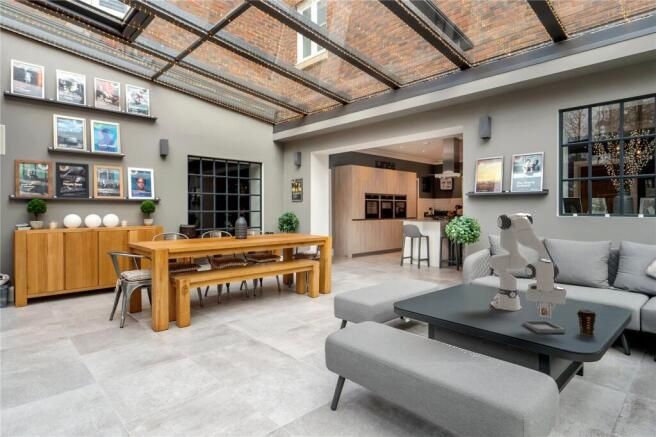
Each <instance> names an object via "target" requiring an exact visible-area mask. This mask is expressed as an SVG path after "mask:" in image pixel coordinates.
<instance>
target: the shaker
mask: <svg viewBox="0 0 656 437" xmlns="http://www.w3.org/2000/svg"><path fill="white" fill-rule="evenodd" d="M539 306H540V310H539V316H540V318H542V317H544V318H550V319H552V311H551V307H552V303H543V302H539ZM542 309H545V310H546V311H547V313H546V314H542V313H541V310H542Z"/></svg>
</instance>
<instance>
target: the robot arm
mask: <svg viewBox="0 0 656 437" xmlns="http://www.w3.org/2000/svg"><path fill="white" fill-rule="evenodd" d="M533 220H534V219H533V216H532V215H531V214H530V213H525V212H524V213H517V212H515V213H509V214H507V213H506V214H501V215H499V216H498V217H497V221H496V222H497V227H498V229H500V236H499V237H500V238H499V241H500V242H499V244H500V245H499V246H500V248H501V250H504V251H506V252H508V253H509V254H492V255H491V256H490V257H489V258H488V265H489V267H490V268H492V270H494V271H495V272H496V273H497V276H498V280H499V288H498V293H497V294H496V295H494V297H493V298H492V300H493V301H491V302H490V305H491V306H493V308H495V309H497V310H498V309H499V310H504V311H520V310H521V309H522V308H523V307H522V306H521V303H520V302H521V301H520V300H521V299H520V297H519V295H518V292H519V291H518V290H519V289H518V279H517V277H515V275H512V274H510V273H509V271H522V270H523V271H524V270H525V274H526V277H528V278H529V279H533V280H536V282H535V283H530V284H528V285H527V289H526V293H525V301H526V302H534V305H536V308H537V309H536V310H539V311H540V305H538V304H539V303H540V302H543V303H551V304H552V305H553V306H551V312H554V311H555V308H556V306H557V305H566V303H567V299H566V296H567V290H566V289H565V288H564V287H555V279H557V278H558V276H559V275H560V269H559V267H558V266H557V264H556V262H555V261H554V259H553V258H552V255H551V253H550V251H549V250H548V247H547V246H546V244H545V242H544V241H543V240H542V239H540V237H538V236H537V234H536V232H535V230H534V226H533V223H534V222H533ZM518 245H521V246H523V247H525V248H529V249H530V250H533V251H535V252H536V253H538V255H539V257H540V259H539V258H538V259H537V260H536V261H535V262H533V263H529V260H528V258H527V257H526V256H525V255H524V254H522V253H521V251H520V249H519V246H518Z"/></svg>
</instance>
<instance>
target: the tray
mask: <svg viewBox="0 0 656 437" xmlns="http://www.w3.org/2000/svg"><path fill="white" fill-rule="evenodd" d="M522 326H524V327H525V328H527V329H529V330H531V331H533V332H535V333H536V334H539V335H543V334H545V335H546V334H547V335H548V334H551V335H552V334H558V335H559V334H565V333H566V331H565V330H566V329H565V328H563V327H561V326H559V325H557V324H555V323H552V322H550V321H548V320H522Z"/></svg>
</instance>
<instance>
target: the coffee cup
mask: <svg viewBox="0 0 656 437" xmlns="http://www.w3.org/2000/svg"><path fill="white" fill-rule="evenodd" d="M576 315H577V318H578V327H579V334H581V335H582V336H583V335H584V336H594V335H595V333H594V331H595V325H596V317H597V314H596V313H595V311H594V310H589V309H579V310H578V312H576Z"/></svg>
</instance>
